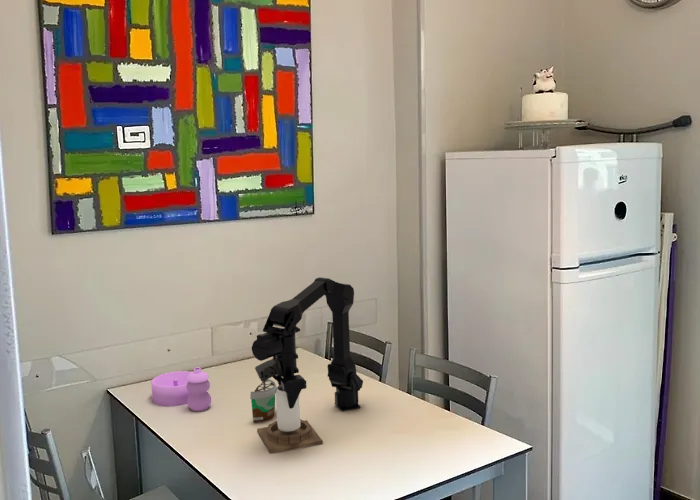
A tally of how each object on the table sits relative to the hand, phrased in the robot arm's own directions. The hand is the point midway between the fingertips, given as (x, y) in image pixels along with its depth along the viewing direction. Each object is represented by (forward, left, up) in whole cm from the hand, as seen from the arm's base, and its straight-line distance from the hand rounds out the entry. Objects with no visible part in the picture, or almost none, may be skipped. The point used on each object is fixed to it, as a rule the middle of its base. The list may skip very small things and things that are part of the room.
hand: (288, 403), depth 198 cm
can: (0, 0, -7) cm, 7 cm away
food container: (+2, -17, -10) cm, 20 cm away
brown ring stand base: (0, 0, -10) cm, 10 cm away
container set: (+24, -40, -11) cm, 48 cm away
